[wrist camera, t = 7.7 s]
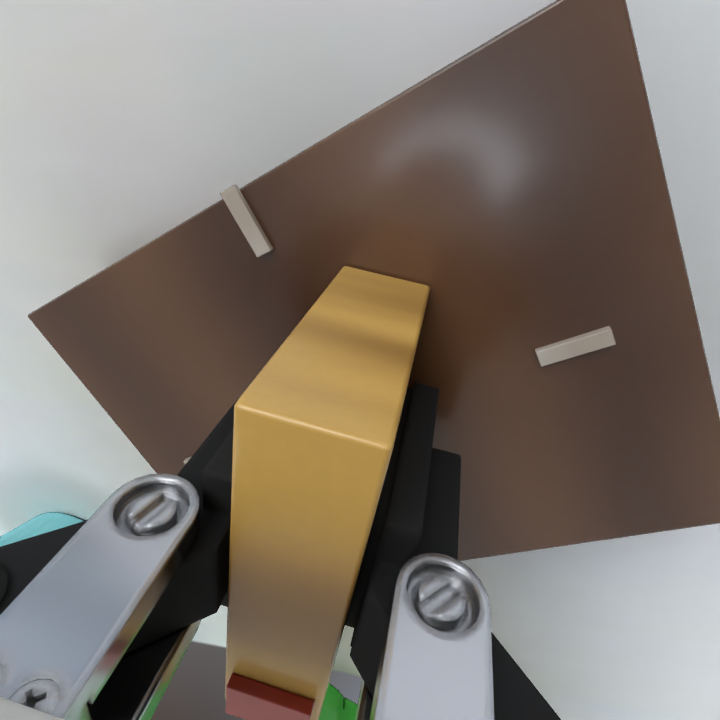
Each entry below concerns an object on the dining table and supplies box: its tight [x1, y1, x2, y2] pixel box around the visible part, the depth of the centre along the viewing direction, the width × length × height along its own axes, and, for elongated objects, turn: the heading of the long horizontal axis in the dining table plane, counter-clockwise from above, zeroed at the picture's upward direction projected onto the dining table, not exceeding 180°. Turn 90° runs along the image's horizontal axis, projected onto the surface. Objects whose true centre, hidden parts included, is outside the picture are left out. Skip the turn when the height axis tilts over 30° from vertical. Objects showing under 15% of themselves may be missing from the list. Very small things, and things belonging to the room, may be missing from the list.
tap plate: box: [28, 0, 720, 561], centre depth 12 cm, size 14×11×3 cm
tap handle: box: [225, 266, 430, 720], centre depth 9 cm, size 7×2×5 cm, turn 170°
